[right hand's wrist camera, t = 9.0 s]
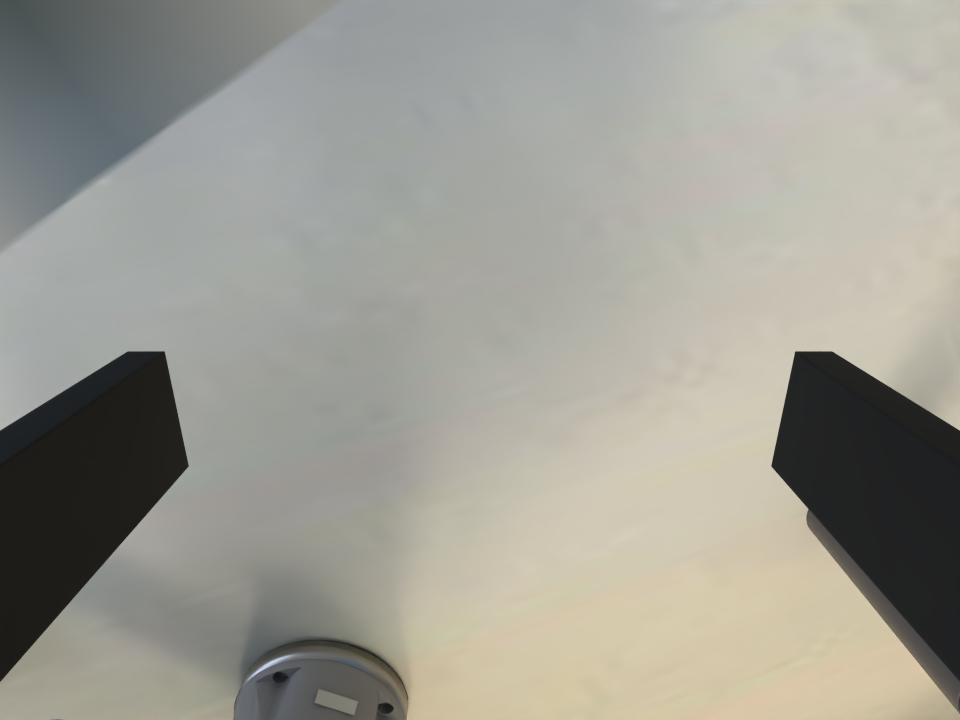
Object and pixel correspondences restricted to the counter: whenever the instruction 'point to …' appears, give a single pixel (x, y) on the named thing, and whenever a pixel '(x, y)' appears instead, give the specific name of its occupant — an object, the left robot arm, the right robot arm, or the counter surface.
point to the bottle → (890, 615)
